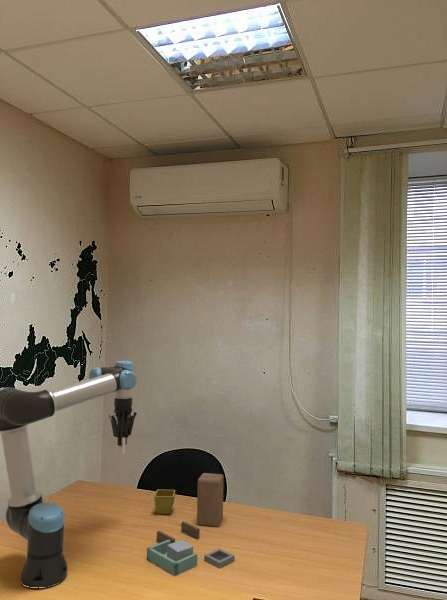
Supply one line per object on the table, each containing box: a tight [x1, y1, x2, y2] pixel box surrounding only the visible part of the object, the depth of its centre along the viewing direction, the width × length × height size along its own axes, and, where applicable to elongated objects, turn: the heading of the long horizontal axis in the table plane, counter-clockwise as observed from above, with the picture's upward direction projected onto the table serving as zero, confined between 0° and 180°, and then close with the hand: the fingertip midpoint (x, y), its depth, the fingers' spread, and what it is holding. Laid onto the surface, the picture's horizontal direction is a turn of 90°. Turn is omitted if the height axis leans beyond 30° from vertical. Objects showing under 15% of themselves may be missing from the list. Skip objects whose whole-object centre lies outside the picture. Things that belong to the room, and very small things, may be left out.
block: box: [166, 539, 194, 561], centre depth 182 cm, size 7×7×5 cm
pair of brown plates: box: [156, 521, 201, 544], centre depth 197 cm, size 14×10×4 cm
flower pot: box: [153, 489, 176, 515], centre depth 226 cm, size 9×9×9 cm
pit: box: [204, 548, 236, 569], centre depth 181 cm, size 8×8×2 cm
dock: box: [146, 540, 198, 577], centre depth 179 cm, size 10×16×4 cm, turn 46°
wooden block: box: [196, 472, 224, 528], centre depth 216 cm, size 10×10×20 cm
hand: (121, 452), depth 207 cm, fingers closed
